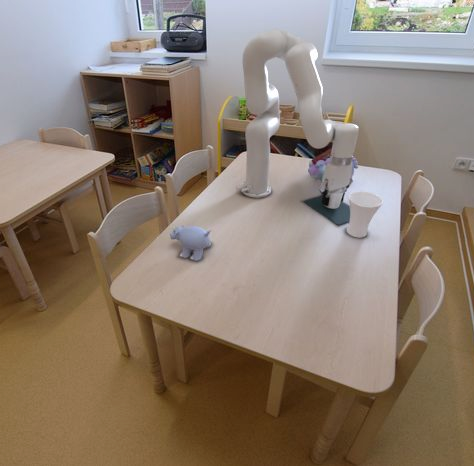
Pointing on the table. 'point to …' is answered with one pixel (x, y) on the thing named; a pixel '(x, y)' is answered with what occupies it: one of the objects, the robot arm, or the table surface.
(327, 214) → the mat
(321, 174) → the pastel bubbly cloud
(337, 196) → the shot glass
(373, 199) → the cup
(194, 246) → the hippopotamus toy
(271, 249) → the table surface
